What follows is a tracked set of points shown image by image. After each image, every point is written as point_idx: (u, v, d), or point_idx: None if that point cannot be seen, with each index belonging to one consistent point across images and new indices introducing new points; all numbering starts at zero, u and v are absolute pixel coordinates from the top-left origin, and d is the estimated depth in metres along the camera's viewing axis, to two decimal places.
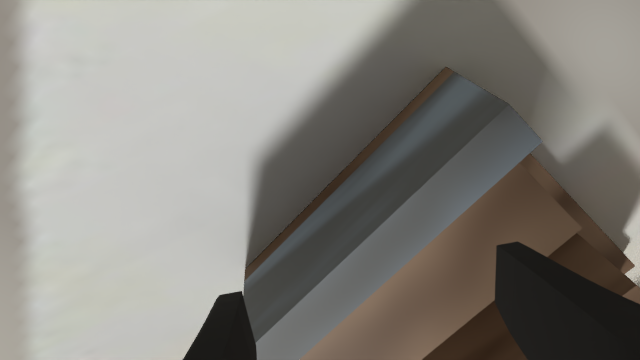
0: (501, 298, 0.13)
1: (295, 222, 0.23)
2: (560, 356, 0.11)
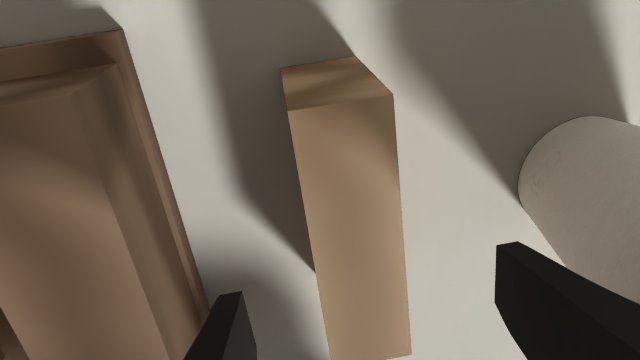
0: (501, 298, 0.13)
1: None
2: (560, 356, 0.11)
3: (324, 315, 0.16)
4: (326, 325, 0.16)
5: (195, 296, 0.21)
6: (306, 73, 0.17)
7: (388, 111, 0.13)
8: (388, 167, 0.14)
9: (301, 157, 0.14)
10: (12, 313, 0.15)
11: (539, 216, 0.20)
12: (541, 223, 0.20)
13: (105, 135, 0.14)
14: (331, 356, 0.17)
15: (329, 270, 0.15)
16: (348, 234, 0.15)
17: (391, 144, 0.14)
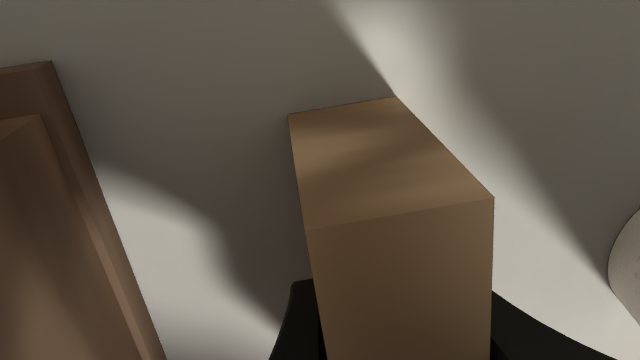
0: None
1: None
2: None
3: None
4: None
5: None
6: (328, 130, 0.11)
7: (483, 225, 0.07)
8: (474, 310, 0.08)
9: (328, 301, 0.08)
10: None
11: None
12: None
13: (2, 246, 0.09)
14: None
15: None
16: None
17: (483, 276, 0.08)
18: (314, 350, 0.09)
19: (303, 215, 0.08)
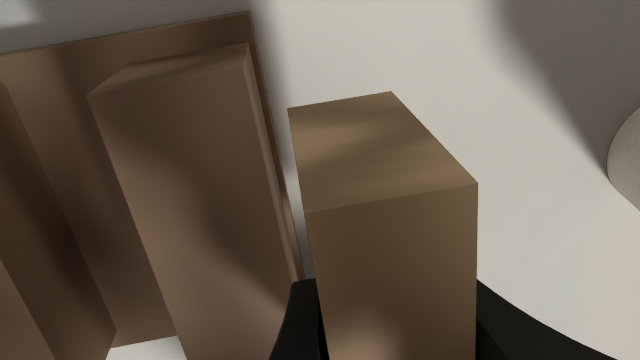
0: None
1: None
2: None
3: None
4: None
5: (299, 270, 0.22)
6: (326, 123, 0.12)
7: (468, 209, 0.08)
8: (461, 288, 0.09)
9: (326, 278, 0.08)
10: (163, 278, 0.16)
11: (636, 187, 0.20)
12: (639, 193, 0.20)
13: (255, 108, 0.15)
14: None
15: None
16: None
17: (468, 256, 0.09)
18: (314, 350, 0.09)
19: (303, 199, 0.08)
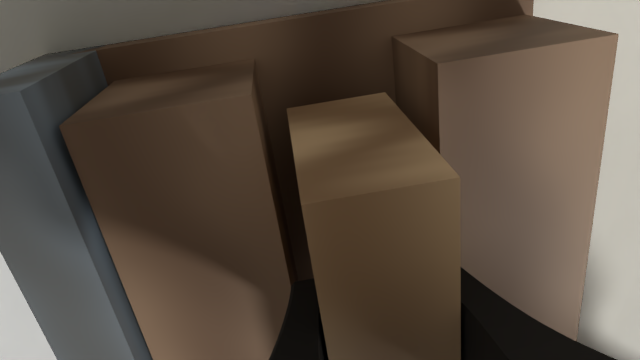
0: None
1: None
2: None
3: None
4: None
5: None
6: (322, 122, 0.12)
7: (451, 201, 0.09)
8: (446, 275, 0.10)
9: (321, 265, 0.09)
10: None
11: None
12: None
13: None
14: None
15: None
16: None
17: (452, 245, 0.09)
18: (314, 350, 0.09)
19: (300, 192, 0.09)
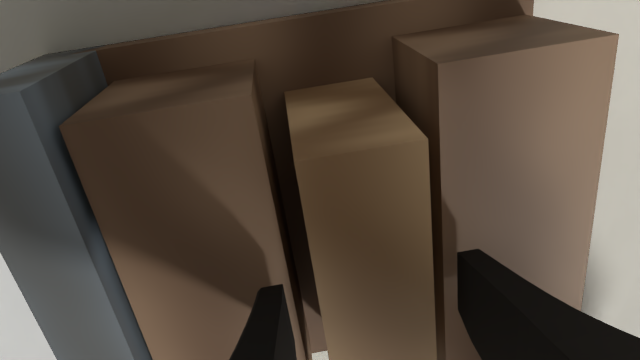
0: (462, 305, 0.13)
1: None
2: None
3: None
4: None
5: None
6: (315, 101, 0.14)
7: (421, 160, 0.11)
8: (419, 226, 0.11)
9: (311, 216, 0.11)
10: (451, 281, 0.14)
11: None
12: None
13: None
14: None
15: (344, 345, 0.13)
16: (368, 304, 0.12)
17: (424, 199, 0.11)
18: (270, 358, 0.09)
19: (293, 153, 0.11)
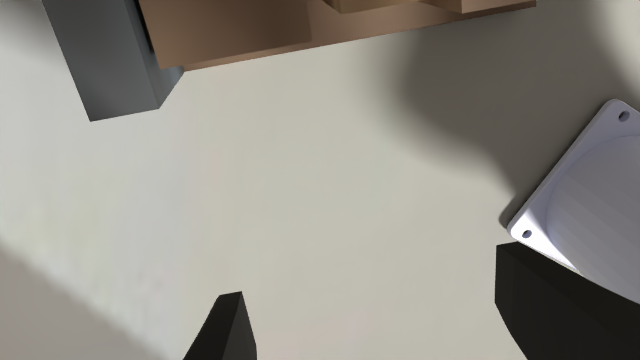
0: (501, 298, 0.13)
1: None
2: (560, 356, 0.11)
3: None
4: None
5: None
6: None
7: None
8: None
9: None
10: None
11: None
12: None
13: None
14: None
15: None
16: None
17: None
18: None
19: None
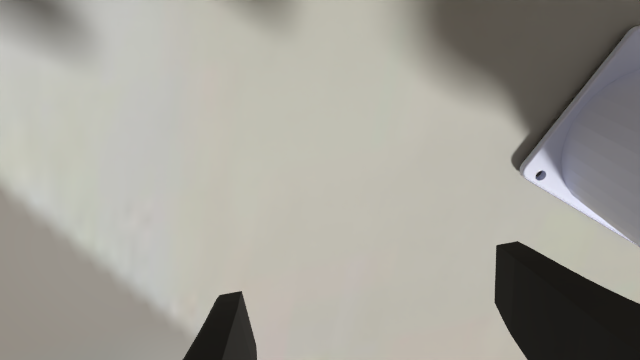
0: (501, 298, 0.13)
1: None
2: (560, 356, 0.11)
3: None
4: None
5: None
6: None
7: None
8: None
9: None
10: None
11: None
12: None
13: None
14: None
15: None
16: None
17: None
18: None
19: None
